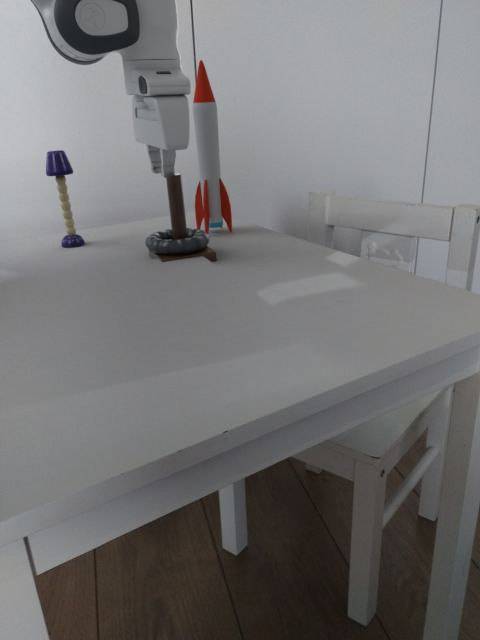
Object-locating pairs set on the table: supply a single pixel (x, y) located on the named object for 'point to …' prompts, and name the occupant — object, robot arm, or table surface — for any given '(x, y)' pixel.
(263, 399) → the table surface
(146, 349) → the table surface
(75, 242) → the toy lamp
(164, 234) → the ring
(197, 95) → the toy rocket
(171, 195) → the stand
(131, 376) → the table surface
